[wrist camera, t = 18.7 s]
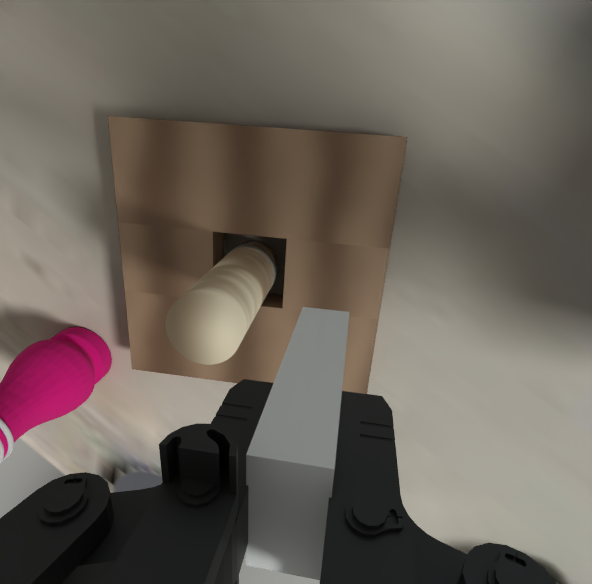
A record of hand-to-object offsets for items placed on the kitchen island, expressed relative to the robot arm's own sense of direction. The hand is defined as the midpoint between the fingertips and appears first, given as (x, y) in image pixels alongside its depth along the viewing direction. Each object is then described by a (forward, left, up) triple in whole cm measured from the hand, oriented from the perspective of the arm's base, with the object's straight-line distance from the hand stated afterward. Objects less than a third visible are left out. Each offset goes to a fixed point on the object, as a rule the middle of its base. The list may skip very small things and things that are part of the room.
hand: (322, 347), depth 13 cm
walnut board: (+7, +4, -22) cm, 23 cm away
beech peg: (+7, +4, -22) cm, 23 cm away
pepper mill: (+25, +16, -22) cm, 37 cm away
